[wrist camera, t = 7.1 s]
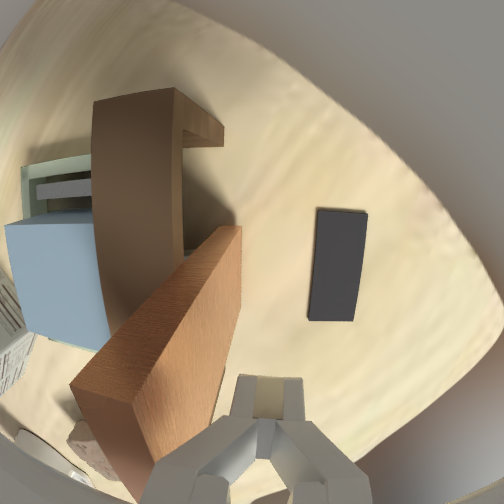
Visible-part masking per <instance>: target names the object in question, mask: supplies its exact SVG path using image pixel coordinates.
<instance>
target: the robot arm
mask: <svg viewBox="0 0 504 504" xmlns="http://www.w3.org/2000/svg"><path fill="white" fill-rule="evenodd" d="M255 458H257V459H270V462H271V463H272V465H273V467H274V468H275V470H276V471H277V473H278V474H279V476H280V477H281V479H282V481H283V482H284V484H285V485H286V487H287V488H288V490H289V491H290V493H291V495H290V497H289V500H288V502H287V504H373V501H372V495H371V490H370V484H369V479H368V476H367V475H366V474H365V473H364V472H362V471H361V470H360V469H359V468H358V467H357V466H356V465H355V464H354V463H353V462H352V461H351V460H350V459H349V458H348V457H347V456H346V455H345V454H344V453H343V452H341V451H340V450H339V449H338V448H337V447H336V446H335V445H334V444H333V443H332V442H331V441H330V440H329V439H328V438H327V437H326V436H325V435H324V434H323V433H322V432H321V431H320V430H319V429H318V428H317V426H316V425H315V424H314V423H313V422H312V421H305V404H304V389H303V379H302V378H292V377H283V378H282V377H270V376H259V375H258V376H256V375H247V374H239V376H238V378H237V383H236V387H235V392H234V396H233V401H232V405H231V410H230V414H229V416H226V415H223V416H222V417H220V418H219V419H218V420H216V421H215V422H214V423H212V424H211V425H210V426H208V427H207V428H205V429H204V430H203V431H201V432H200V433H198V434H197V435H196V436H194V437H193V438H191V439H190V440H188V441H187V442H185V443H184V444H182V445H181V446H180V447H178V448H176V449H175V450H173V451H172V452H170V453H169V454H167V455H166V456H164V457H163V458H161V459H159V460H158V461H156V463H155V465H154V468H153V470H152V472H151V475H150V477H149V480H148V482H147V484H146V487H145V489H144V491H143V494H142V496H141V499H140V501H139V503H138V504H231V501H230V486H231V485H232V484H233V483H234V482H235V481H236V480H237V479H238V478H239V477H240V476H241V475H242V474H243V473H244V471H245V470H246V469H247V468H248V467H249V466H250V465H251V464H252V463H253V462H254V461H255ZM0 504H132V503H129V502H127V501H124V500H121V499H119V498H116V497H113V496H111V495H108V494H106V493H104V492H101V491H99V490H97V489H95V487H94V486H93V484H92V482H91V480H90V478H89V476H88V475H86V474H85V473H84V472H82V471H81V470H79V469H78V468H76V467H75V466H73V465H72V464H71V463H69V462H68V461H67V460H66V459H65V458H64V457H62V456H61V455H60V454H59V453H58V452H56V451H55V450H54V449H53V448H51V447H50V446H49V445H47V444H46V443H45V442H43V441H42V440H41V439H39V438H38V437H36V436H35V435H33V434H31V433H30V432H28V431H26V430H23V429H20V430H19V432H18V435H16V437H15V441H14V442H13V441H11V440H10V439H8V438H7V437H6V436H4V435H3V434H2V433H0ZM445 504H504V477H503V478H501V479H499V480H498V481H496V482H494V483H492V484H490V485H488V486H486V487H484V488H481V489H479V490H477V491H475V492H473V493H470V494H468V495H466V496H463V497H461V498H458V499H456V500H453V501H450V502H448V503H445Z"/></svg>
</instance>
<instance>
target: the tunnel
mask: <svg viewBox="0 0 504 504" xmlns="http://www.w3.org/2000/svg"><path fill="white" fill-rule="evenodd" d="M193 147H224V126H223V125H222V124H220V123H219V122H218V121H217V120H215V119H214V118H213V117H212V116H211V115H209V114H208V113H207V112H206V111H204V110H203V109H202V108H201V107H199V106H198V105H197V104H195V103H194V102H193V101H192V100H190V99H189V98H188V97H186V96H185V95H184V94H183V93H181V92H180V91H179V90H177V89H176V88H175V87H173V88H165V89H158V90H151V91H145V92H139V93H133V94H128V95H122V96H117V97H113V98H108V99H104V100H99V101H95V102H94V105H93V118H92V137H91V193H92V212H93V226H94V237H95V246H96V255H97V263H98V270H99V277H100V284H101V290H102V295H103V301H104V306H105V311H106V316H107V321H108V326H109V330H110V335H111V337H112V336H113V335H114V334H115V333H116V332H117V330H118V329H119V328H120V327H121V326H122V325H123V324H124V323H125V322H126V321H127V320H128V319H129V318H130V317H131V316H132V314H133V313H134V312H135V311H136V310H137V309H138V308H139V307H140V306H141V305H142V304H143V303H144V302H145V301H146V300H147V299H148V298H149V297H150V296H151V295H152V294H153V292H154V291H155V290H156V289H157V288H158V287H159V286H160V285H161V284H162V283H163V282H164V281H165V280H166V279H167V278H168V277H169V276H170V275H171V274H172V273H173V272H174V271H175V270H176V269H177V268H178V267H179V266H180V265H181V264H182V263H183V262H184V247H183V215H182V148H193ZM224 373H225V367H224V370H223V374H222V378H221V381H220V385H219V389H218V392H217V396H216V400H215V403H214V407H213V410H212V414H211V418H210V421H209V425H208V426H210V425H211V422H212V418H213V414H214V411H215V407H216V403H217V399H218V396H219V392H220V388H221V384H222V381H223V377H224Z"/></svg>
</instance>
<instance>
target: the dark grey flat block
mask: <svg viewBox="0 0 504 504" xmlns="http://www.w3.org/2000/svg"><path fill="white" fill-rule="evenodd" d="M367 220H368V214H365V213H352V212H337V211H321V210H318V219H317V234H316V247H315V259H314V270H313V281H312V291H311V300H310V309H309V317H308V320H309V321H353V319H354V314H355V308H356V303H357V297H358V291H359V284H360V278H361V271H362V264H363V256H364V248H365V239H366V230H367Z"/></svg>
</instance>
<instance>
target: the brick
mask: <svg viewBox="0 0 504 504" xmlns="http://www.w3.org/2000/svg"><path fill="white" fill-rule="evenodd" d="M66 441H67V443H68V445H69V446H70V448H71V449H72V450H73V451H74V452H75V453H76V455H78V456H79V457H80V458H81V459H82V460H84V461H86V462H87V464H88V465H89V466H90V467H92V468H94V469H95V471H97V472H99V473H100V474H102V475H103V476H104V477H105V478H107V479H108V480H112V481H121V480H120V478H119V477H118V475H117V474H116V472H115V471H114V469H113V468H112V466H111V464H110V463H109V461H108V460H107V458H106V456H105V455H104V453H103V451H102V450H101V448H100V446H99V444H98V443H97V441H96V439H95V437H94V435H93V434H92V432H91V430H90V428H89V426H88V424H87V422H86V420H83V421H79V422H77V423H76V424H75V426H74V429H73V431H72V432H71V433H70V434H69V438H68V439H67V440H66ZM121 482H122V481H121Z"/></svg>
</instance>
